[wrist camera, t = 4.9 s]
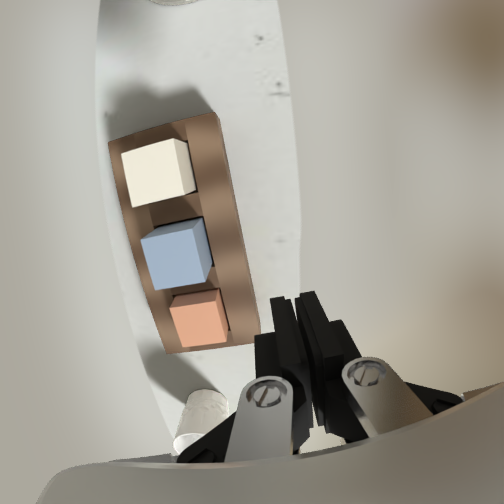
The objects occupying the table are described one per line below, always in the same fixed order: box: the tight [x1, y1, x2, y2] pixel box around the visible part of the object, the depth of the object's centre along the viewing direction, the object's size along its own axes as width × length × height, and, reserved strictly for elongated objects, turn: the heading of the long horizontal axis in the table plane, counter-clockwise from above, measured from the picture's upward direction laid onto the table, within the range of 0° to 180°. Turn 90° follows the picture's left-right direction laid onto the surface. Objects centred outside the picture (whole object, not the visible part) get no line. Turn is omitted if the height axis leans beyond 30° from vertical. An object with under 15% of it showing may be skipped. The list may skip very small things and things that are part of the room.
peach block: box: [169, 287, 229, 347], centre depth 33 cm, size 5×5×6 cm
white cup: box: [173, 389, 229, 455], centre depth 39 cm, size 8×8×10 cm
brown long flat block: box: [108, 112, 261, 354], centre depth 33 cm, size 26×12×5 cm, turn 11°
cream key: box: [121, 138, 197, 207], centre depth 27 cm, size 5×5×6 cm
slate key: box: [141, 217, 213, 290], centre depth 29 cm, size 5×5×6 cm
